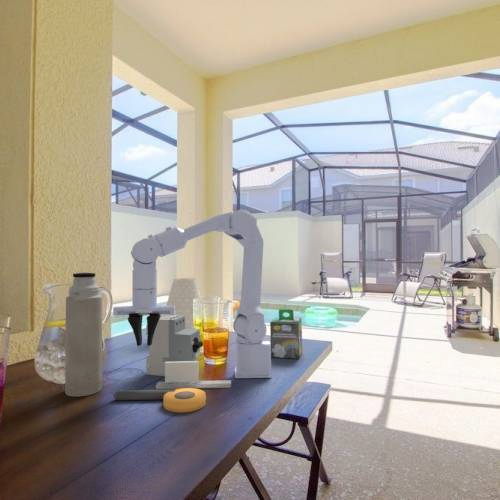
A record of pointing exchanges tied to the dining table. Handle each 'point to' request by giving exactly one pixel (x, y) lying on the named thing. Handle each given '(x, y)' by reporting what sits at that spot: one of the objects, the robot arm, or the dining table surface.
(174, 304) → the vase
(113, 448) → the dining table surface
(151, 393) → the grey rounded rod
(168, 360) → the circuit breaker
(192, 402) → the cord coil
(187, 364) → the panel
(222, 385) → the rail
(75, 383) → the thermos bottle
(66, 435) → the dining table surface
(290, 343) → the chalk box
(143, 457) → the dining table surface
